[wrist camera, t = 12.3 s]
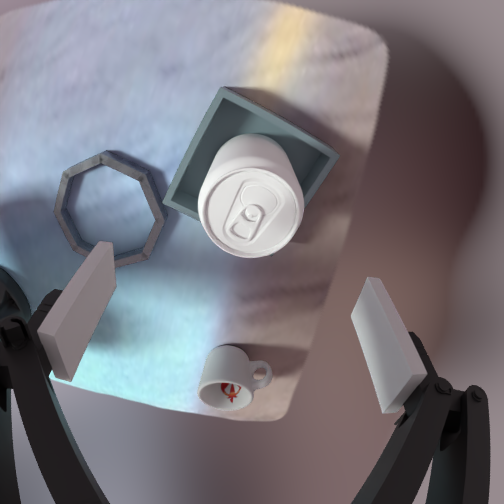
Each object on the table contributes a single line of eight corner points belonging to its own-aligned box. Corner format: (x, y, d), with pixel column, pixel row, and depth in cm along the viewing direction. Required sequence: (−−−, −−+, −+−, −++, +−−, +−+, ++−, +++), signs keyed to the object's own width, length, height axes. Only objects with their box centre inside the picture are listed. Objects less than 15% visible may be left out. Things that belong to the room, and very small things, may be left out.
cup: (265, 331, 46) (266, 374, 39) (275, 364, 50) (278, 405, 43) (195, 342, 48) (188, 384, 41) (212, 374, 52) (208, 413, 45)
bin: (170, 189, 35) (162, 203, 32) (224, 86, 30) (220, 87, 26) (270, 238, 38) (271, 256, 35) (331, 146, 33) (340, 155, 29)
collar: (53, 232, 38) (48, 237, 37) (78, 137, 32) (72, 140, 30) (141, 276, 41) (138, 282, 40) (181, 186, 35) (178, 190, 34)
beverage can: (303, 156, 33) (328, 196, 22) (265, 216, 36) (270, 279, 26) (235, 118, 31) (226, 140, 20) (200, 184, 34) (177, 235, 24)
